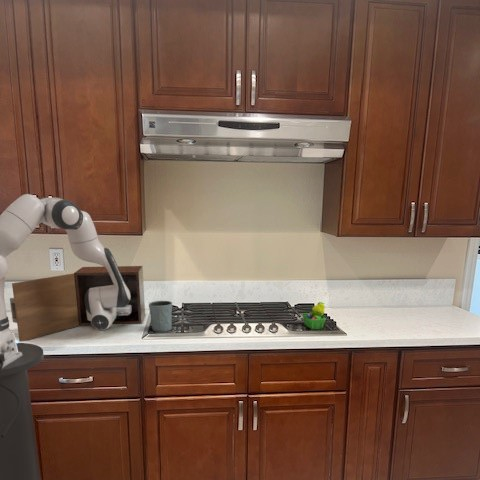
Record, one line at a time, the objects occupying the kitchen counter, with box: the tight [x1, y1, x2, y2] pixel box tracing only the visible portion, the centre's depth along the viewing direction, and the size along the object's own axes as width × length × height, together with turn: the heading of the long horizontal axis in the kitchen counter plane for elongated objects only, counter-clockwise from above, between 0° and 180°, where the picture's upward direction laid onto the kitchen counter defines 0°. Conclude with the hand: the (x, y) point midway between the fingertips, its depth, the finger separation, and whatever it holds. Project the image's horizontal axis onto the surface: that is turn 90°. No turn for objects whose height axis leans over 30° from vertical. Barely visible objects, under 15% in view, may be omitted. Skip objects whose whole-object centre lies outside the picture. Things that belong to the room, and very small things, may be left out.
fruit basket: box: [301, 301, 327, 331], centre depth 210 cm, size 11×9×11 cm
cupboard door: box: [9, 273, 80, 343], centre depth 200 cm, size 7×28×24 cm, turn 146°
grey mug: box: [148, 300, 173, 333], centre depth 206 cm, size 10×10×12 cm
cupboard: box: [73, 265, 146, 327], centre depth 220 cm, size 18×28×24 cm, turn 96°
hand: (111, 306), depth 220 cm, fingers open, 8 cm apart
